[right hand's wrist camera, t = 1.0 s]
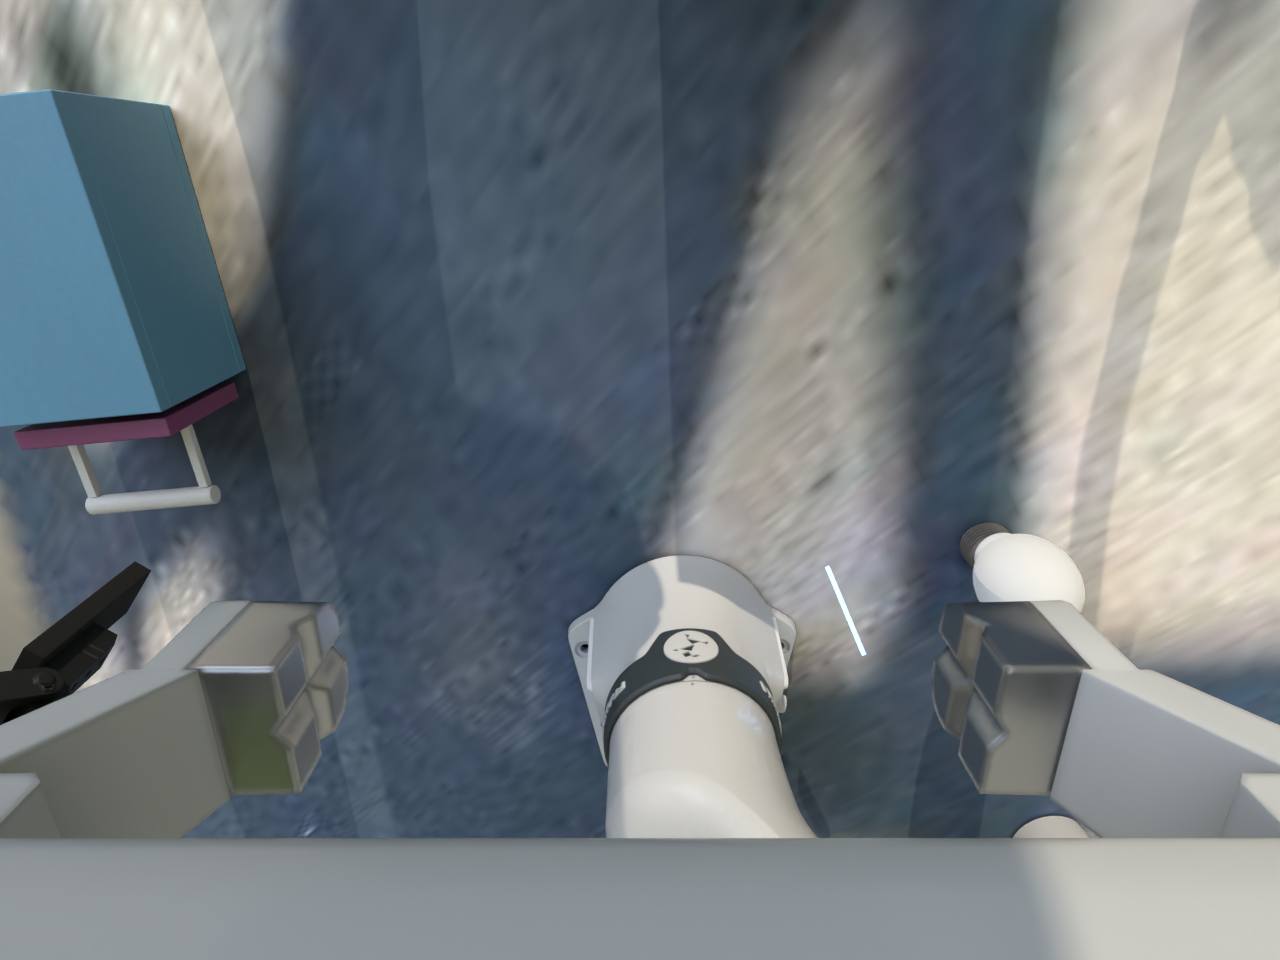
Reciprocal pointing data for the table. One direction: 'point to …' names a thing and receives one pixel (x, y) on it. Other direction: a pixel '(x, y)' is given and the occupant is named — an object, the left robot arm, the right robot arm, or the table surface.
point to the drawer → (133, 429)
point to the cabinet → (102, 264)
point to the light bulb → (1020, 567)
